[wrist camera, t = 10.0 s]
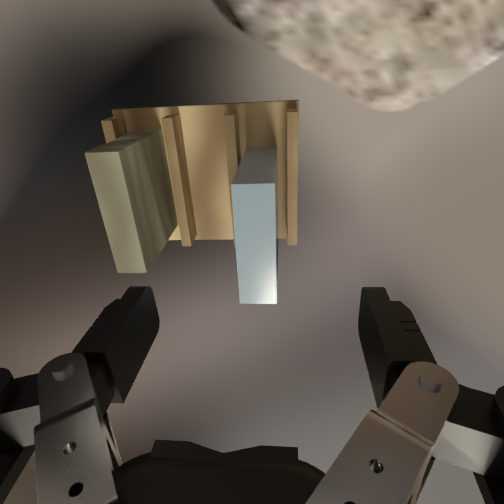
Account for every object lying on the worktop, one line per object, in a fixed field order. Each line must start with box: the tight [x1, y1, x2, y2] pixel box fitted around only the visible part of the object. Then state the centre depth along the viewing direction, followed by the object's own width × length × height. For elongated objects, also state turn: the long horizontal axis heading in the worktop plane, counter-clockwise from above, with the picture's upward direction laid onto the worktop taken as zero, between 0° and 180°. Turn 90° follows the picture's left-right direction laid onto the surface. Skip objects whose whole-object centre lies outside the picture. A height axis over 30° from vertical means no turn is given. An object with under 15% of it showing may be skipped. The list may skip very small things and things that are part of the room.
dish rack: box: [85, 100, 299, 273], centre depth 25 cm, size 14×11×9 cm
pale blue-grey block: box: [231, 148, 278, 304], centre depth 24 cm, size 2×8×9 cm, turn 3°
